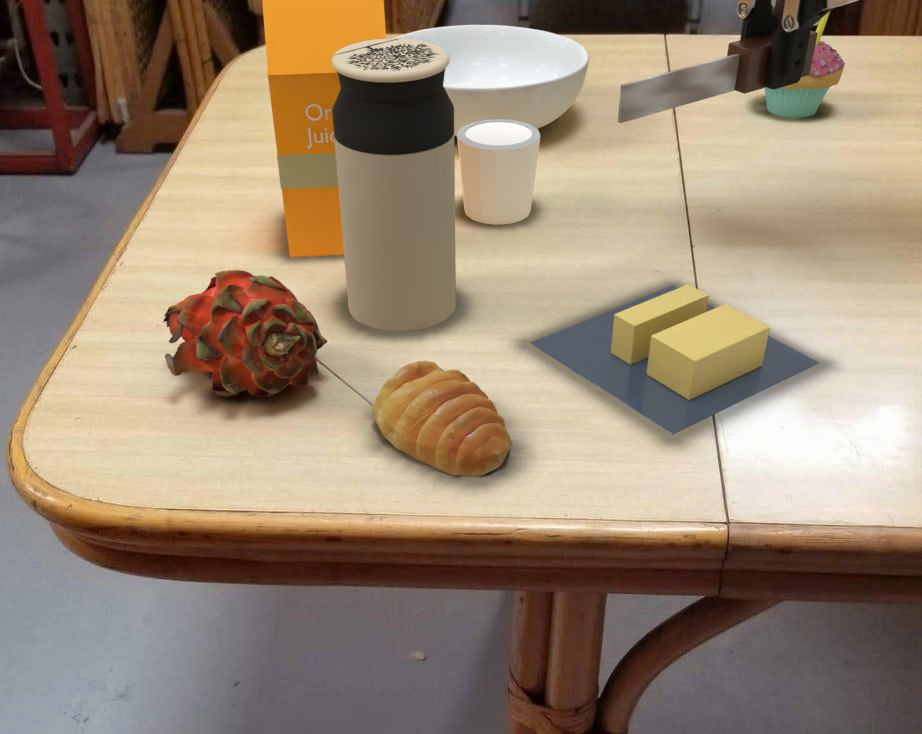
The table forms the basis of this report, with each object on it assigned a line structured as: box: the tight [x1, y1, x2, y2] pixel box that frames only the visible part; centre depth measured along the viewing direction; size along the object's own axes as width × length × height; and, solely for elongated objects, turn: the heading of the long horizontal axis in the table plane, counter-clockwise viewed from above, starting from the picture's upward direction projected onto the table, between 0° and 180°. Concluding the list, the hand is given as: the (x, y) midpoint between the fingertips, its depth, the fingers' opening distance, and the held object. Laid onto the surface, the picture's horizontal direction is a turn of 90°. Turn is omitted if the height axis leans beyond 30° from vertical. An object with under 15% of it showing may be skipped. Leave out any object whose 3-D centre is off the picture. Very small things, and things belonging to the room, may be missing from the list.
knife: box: [617, 30, 818, 124], centre depth 76 cm, size 18×2×3 cm, turn 125°
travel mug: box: [332, 38, 457, 332], centre depth 74 cm, size 8×8×18 cm
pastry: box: [372, 360, 513, 478], centre depth 66 cm, size 9×7×4 cm
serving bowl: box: [393, 24, 590, 137], centre depth 106 cm, size 21×21×7 cm
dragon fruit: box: [156, 269, 328, 398], centre depth 70 cm, size 8×8×12 cm
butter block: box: [647, 303, 771, 400], centre depth 71 cm, size 7×4×3 cm, turn 127°
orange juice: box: [261, 0, 387, 258], centre depth 82 cm, size 8×9×20 cm
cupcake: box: [764, 11, 846, 119], centre depth 106 cm, size 9×8×12 cm
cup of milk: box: [456, 119, 541, 226], centre depth 90 cm, size 7×7×7 cm
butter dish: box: [529, 284, 820, 436], centre depth 74 cm, size 14×14×1 cm
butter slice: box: [611, 284, 710, 365], centre depth 74 cm, size 7×2×3 cm, turn 127°
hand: (767, 77), depth 79 cm, fingers closed on knife, 2 cm apart
